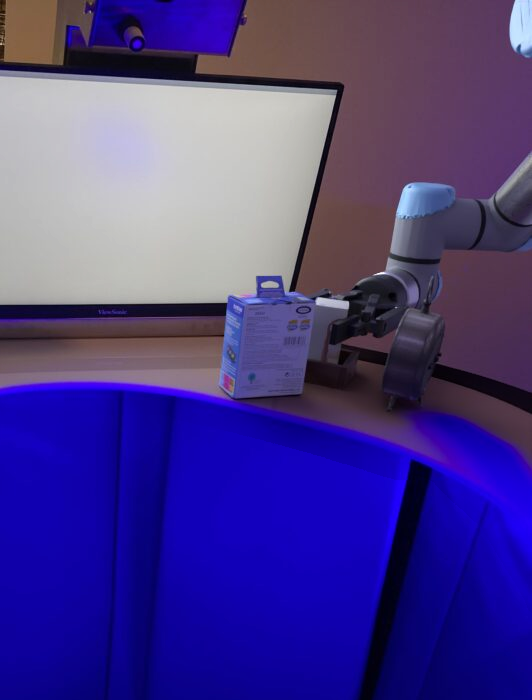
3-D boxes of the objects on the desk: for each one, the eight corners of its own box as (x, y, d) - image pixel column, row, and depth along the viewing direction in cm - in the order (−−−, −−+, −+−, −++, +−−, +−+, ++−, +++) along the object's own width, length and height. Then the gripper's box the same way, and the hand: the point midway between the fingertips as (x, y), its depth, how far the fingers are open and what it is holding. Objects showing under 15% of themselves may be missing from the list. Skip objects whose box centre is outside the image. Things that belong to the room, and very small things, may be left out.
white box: (334, 383, 113) (348, 309, 109) (301, 378, 114) (313, 305, 110) (336, 371, 117) (349, 299, 113) (304, 366, 118) (316, 295, 114)
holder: (355, 372, 117) (359, 351, 116) (343, 389, 111) (347, 367, 109) (297, 360, 121) (300, 340, 119) (281, 377, 114) (284, 355, 113)
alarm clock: (392, 387, 112) (418, 265, 105) (434, 396, 110) (464, 272, 103) (372, 412, 104) (399, 281, 97) (418, 423, 101) (449, 289, 94)
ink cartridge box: (283, 380, 113) (300, 272, 107) (304, 395, 108) (323, 283, 102) (215, 384, 110) (228, 274, 104) (233, 400, 105) (249, 285, 99)
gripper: (440, 337, 121) (374, 374, 105) (320, 310, 132) (243, 339, 116) (452, 286, 118) (386, 316, 102) (328, 262, 129) (250, 285, 113)
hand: (310, 328), depth 109 cm, fingers closed on white box, 6 cm apart
